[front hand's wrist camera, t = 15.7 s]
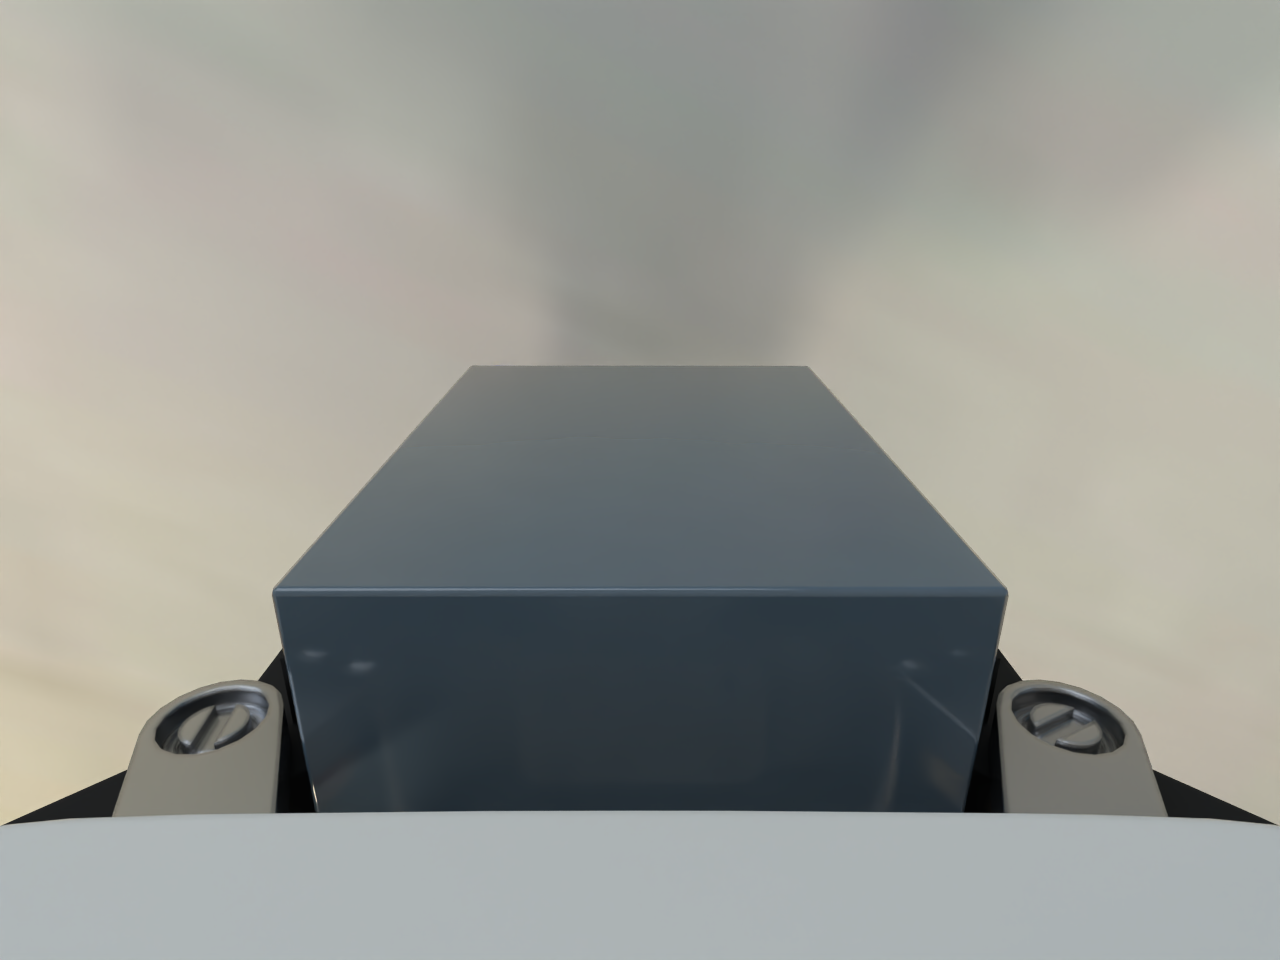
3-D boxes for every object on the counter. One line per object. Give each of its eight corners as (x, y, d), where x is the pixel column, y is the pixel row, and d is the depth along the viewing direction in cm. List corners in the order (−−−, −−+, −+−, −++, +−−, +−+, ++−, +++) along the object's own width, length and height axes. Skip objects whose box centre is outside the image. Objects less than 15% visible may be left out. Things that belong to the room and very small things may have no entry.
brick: (809, 365, 13) (1012, 589, 6) (785, 659, 15) (913, 1080, 8) (469, 364, 13) (266, 589, 6) (493, 659, 15) (366, 1080, 8)
